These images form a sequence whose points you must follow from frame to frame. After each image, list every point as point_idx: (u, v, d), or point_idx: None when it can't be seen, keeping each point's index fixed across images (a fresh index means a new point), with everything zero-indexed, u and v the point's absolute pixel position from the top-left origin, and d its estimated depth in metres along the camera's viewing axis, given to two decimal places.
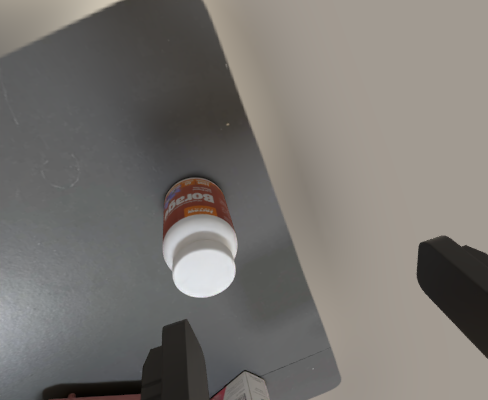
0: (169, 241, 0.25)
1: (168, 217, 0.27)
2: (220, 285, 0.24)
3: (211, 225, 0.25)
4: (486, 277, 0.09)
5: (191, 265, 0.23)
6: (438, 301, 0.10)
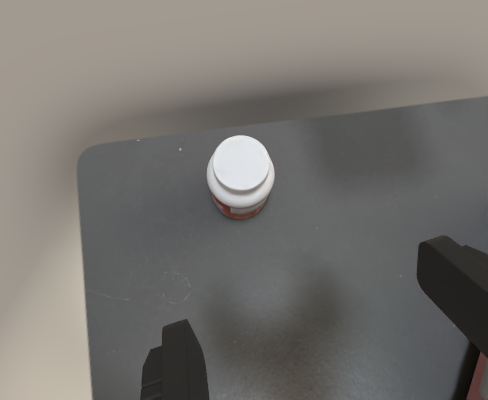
0: (217, 193, 0.28)
1: (215, 200, 0.31)
2: (259, 152, 0.26)
3: None
4: (486, 277, 0.09)
5: (226, 169, 0.26)
6: (438, 301, 0.10)
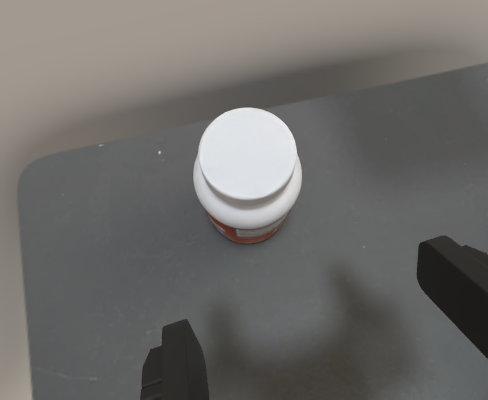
0: (212, 208, 0.17)
1: (212, 219, 0.20)
2: (277, 132, 0.15)
3: None
4: (486, 277, 0.09)
5: (223, 166, 0.15)
6: (438, 302, 0.10)
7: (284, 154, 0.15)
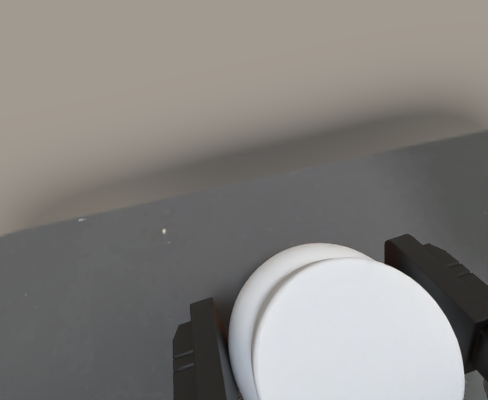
0: None
1: None
2: (417, 318, 0.07)
3: (245, 299, 0.10)
4: (441, 273, 0.09)
5: None
6: None
7: (439, 372, 0.07)
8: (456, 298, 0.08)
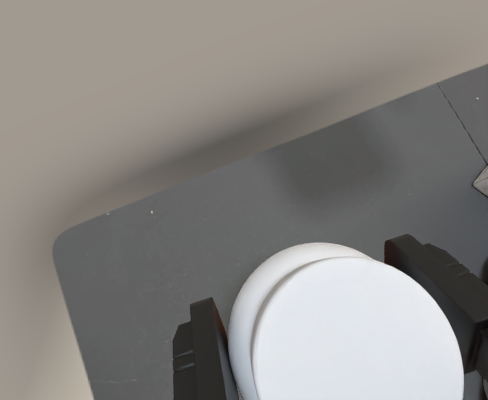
0: None
1: None
2: (417, 318, 0.07)
3: (245, 299, 0.10)
4: (441, 273, 0.09)
5: None
6: None
7: (438, 372, 0.07)
8: (456, 298, 0.08)
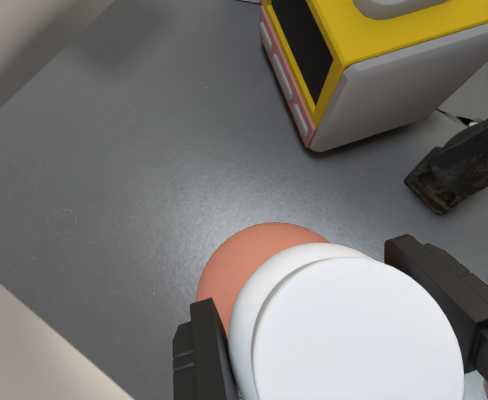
0: None
1: None
2: (417, 318, 0.07)
3: (245, 299, 0.10)
4: (441, 273, 0.09)
5: None
6: None
7: (439, 372, 0.07)
8: (456, 298, 0.08)
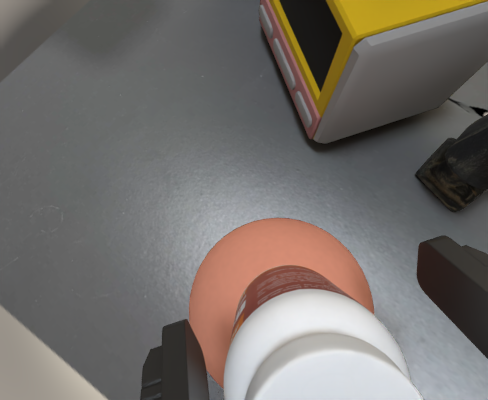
0: None
1: None
2: None
3: (239, 353, 0.10)
4: (486, 277, 0.09)
5: None
6: (439, 302, 0.10)
7: None
8: None
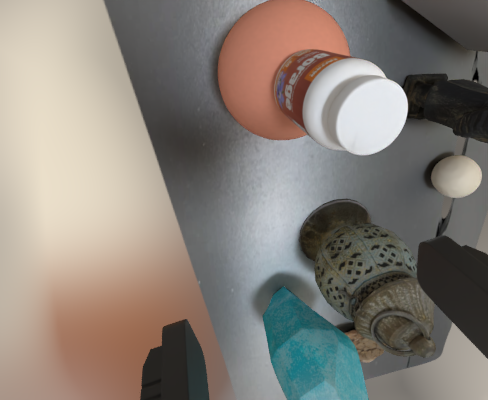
0: (311, 114, 0.21)
1: (293, 101, 0.23)
2: (396, 123, 0.20)
3: (345, 67, 0.20)
4: (486, 277, 0.09)
5: (353, 116, 0.19)
6: (439, 302, 0.10)
7: (384, 139, 0.20)
8: None
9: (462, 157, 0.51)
